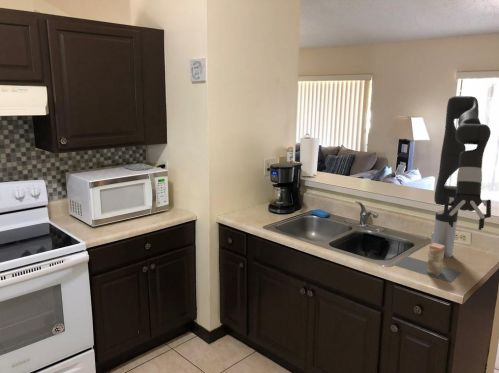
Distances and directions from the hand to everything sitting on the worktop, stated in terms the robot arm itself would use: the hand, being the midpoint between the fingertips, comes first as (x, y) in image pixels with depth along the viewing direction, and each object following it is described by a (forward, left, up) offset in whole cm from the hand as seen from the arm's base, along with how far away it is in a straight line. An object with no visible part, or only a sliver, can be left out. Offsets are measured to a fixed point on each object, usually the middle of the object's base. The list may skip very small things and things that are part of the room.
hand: (465, 228), depth 142 cm
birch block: (-25, +13, -29) cm, 40 cm away
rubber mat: (-29, +13, -30) cm, 43 cm away
